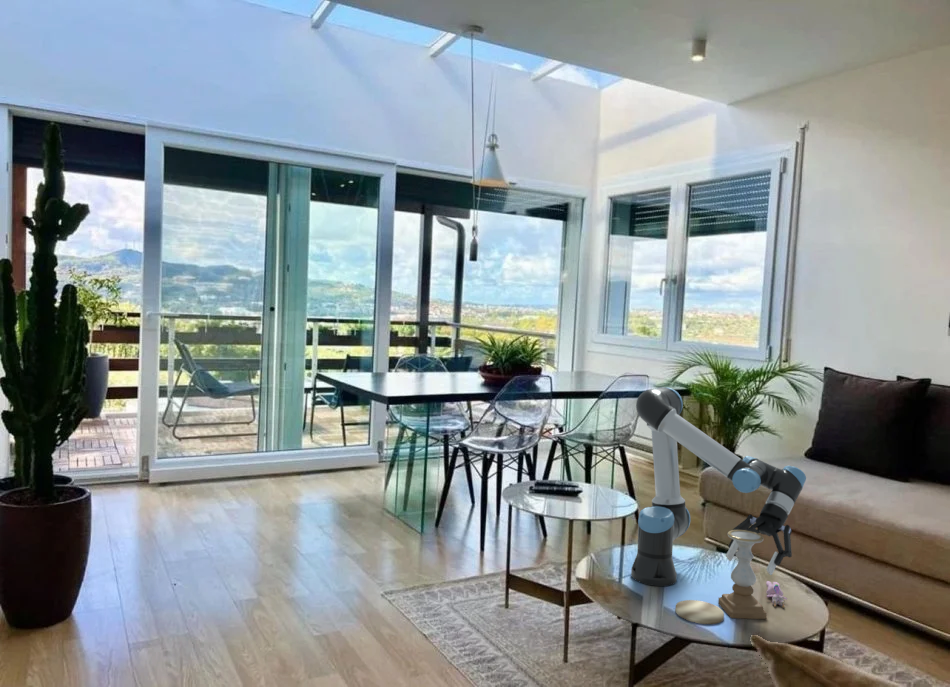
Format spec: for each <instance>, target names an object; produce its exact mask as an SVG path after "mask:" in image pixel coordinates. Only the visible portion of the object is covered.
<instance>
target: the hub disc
mask: <svg viewBox="0 0 950 687" xmlns="http://www.w3.org/2000/svg"><path fill="white" fill-rule="evenodd" d="M675 613H676V615H677V616H679V617H680V618H682V619H683V618H684V620H685V619H686V621H688V622H691V623H694V622H695V623H696V624H698V625H699V624H700V625H701V624H702V625H716V624H720V623H722V622H723V621H724V619H725V611H724V610H723V609H722V608H721V607H719V606H717V605H715V604H712V603H710V602H707V601H702V600H697V599H696V600H695V599H686V600H681V601H678V602H677V603H676V604H675Z"/></svg>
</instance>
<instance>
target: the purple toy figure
mask: <svg viewBox="0 0 950 687" xmlns="http://www.w3.org/2000/svg"><path fill="white" fill-rule="evenodd" d="M765 582H766V583H765V584H766V587H767V590H766V591H765V592H766V596H765V597H766V598H771V604H773V607H775V608H776V607H777V605H779V607H781V608H783V609H785V608H786V607H785V601H784V600H786V601H787V600H788V598H787V597H785V596H784V593H783V591H782V589H781V584H780V583H779V582H777V581H772V582H771V581H769V580H767V581H765Z"/></svg>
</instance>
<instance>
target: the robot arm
mask: <svg viewBox="0 0 950 687" xmlns="http://www.w3.org/2000/svg"><path fill="white" fill-rule="evenodd" d="M683 405H684V403H683V397H682V396H681V394H679V392H678V391H677V390H675V389H674V388H671V387H667V386H666V387H664V386H663V387H662V386H661V387H660V386H659V387H655V388H651V389H647V390H644V391H643V392H642V393H640V394H639V396H638V397H637V400H636V402H635V408H636V413H637V415H638V416H639V418H640V419H641V420H642V421H644V422H645V423H646V426H647V427H648V428H649V429H650V430H651V444H652V458H653V460H652V461H653V471H654V472H653V474H654V475H653V476H654V489H655V496H654V497H653V498H652V499H651V506H647V507H644V508H643V509H641V510H640V511H639V514H638V520H637V523H638V524H637V525H638V526H637V527H638V528H637V550H636V551H637V552H636V556H635V558H634V560H633V564H632V566H631V569H630V570H631V572H630V575H632V576H631V578H632V577H633V578H634V579H633V578H632V579H633V580H635V579H636V580H637V582H638V581H640V582H639V583H641V582H642V583H641V584H644V583H645V585H648V586H649V585H650V586H654V587H667V586H672V585H675V583H677V575H678V574H677V571H676V570H677V569H676V567H675V563H674V560H673V546H674V544H673V543H674V541H675V540H676V539H678V538H679V537H681V536H683V535H684V534H685V533H686V532H687V530H688V529H689V528H690V524H691V514H690V511H689V510H688V508H687V507H686V499H685V498H683V496H682V495H681V486H680V471H679V470H680V468H679V457H678V456H679V455H678V443H679V444H680V445H681V446H683V447H684V448H686V450H688V451H689V452H691V453H693V454H694V455H695V456H696V457H698V458H699V459H701V460H702V461H704V462H705V463H707V464H708V465H709V466H710V467H712V468H714V469H715V470H716V471H717V472H719V473H720V474H721V475H723V476H724V477H726V478H727V479H729V480H730V481H731V482H732V485H733V487H734V488H735V489H736V490H737V491H738V492H740V493H744V494H748V493H752V492H755V491H756V490H758V489H759V488H760V486H761V487H764V488H766V489H768V490H770V491H771V492H770V494H769V495H768V496H767V498H766V501H765V504H763V507H762V508H761V510H760V513H759V516H758V517H755V516H753V515H752V514H749V515H748V516H747V517H746V518H745V519H744V520H743V521H741V522H740V523H739V524H738V525H736V526H735V527H734V528H733V529H732V530H747V531H752V532H755V533H758V534H760V535H766V536H767V537H772V538H773V541H774V543H775V547H776V549H777V551H774V553H773V555H772V557H771V559H770V561H769V563H768V565H767V567H766V569H765V570H766V572H767V573H768V575H770V576H772V575H773V573H774V571H775V569H776V567H777V566H780V565H781V564H782V561H783V559H784V558H785V557H788V558H791V557H792V556H793V555H792V554H793V553H792V542H791V541H792V539H791V535H792V532H793V531H792V528H791V527H790V525H789V524H786V522H787V520H788V518H789V515H790V514H791V512H792V509H793V507H794V506H795V504H796V501H797V499H798V498H799V496H800V494H801V492H802V490H803V487H804V486H805V483H806V481H807V477H806V474H805V472H804V471H803V470H801V469H800V468H798V467H796V466H792V465H785V466H784V467H783V468H782V469H781V468H779V467H776V466H774V465H771V464H769V463H767V462H765V461H762V460H760V459H758V458H756V457H754V456H750V455H746V456H744V457H743V459H742V458H740V457H739V456H737V455H736V454H734V452H732V451H730V450H729V449H728V448H726V447H725V446H723V445H722V444H721V443H719V442H718V441H717V440H715V439H714V438H712V437H711V436H710V435H708V434H706V433H705V432H704V431H702V430H701V429H699V428H698V427H696V426H695V425H694V424H692V423H691V422H689V421H688V420H686V419H685V418H684V417H682V416H681V415H680V414H681V413H682V410H683ZM785 524H786V525H785ZM780 532H782V533H783V546H782V542H781V540H780V537H779V534H778V533H780ZM783 548H784V549H783ZM738 549H739V546H738V544H737V542H736V540H733V539H731V540H730V542H729V544H728V551H727V552H726V554H725V557H726V559H727V560H728V561H730V562H732V561H733V558H734V556H735V555H736V552H737V551H738ZM636 580H635V581H636Z"/></svg>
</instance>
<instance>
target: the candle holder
mask: <svg viewBox="0 0 950 687" xmlns="http://www.w3.org/2000/svg"><path fill="white" fill-rule="evenodd" d="M727 536H728V538H730V539H731V540H732V539H733V540H736V542H737V544H738V546H739V547H738V549H737V551H736V553H735V556H736V558H737V564H736V565H735V567H734V568H733V570H731V572H730V579H731V580H732V582H733V585H732V592H731V593H722V594H721V597H718V600H717V601H718V602H717V604H718V605H719V606H720V608H721V610H722V611H723V612H724V613H726V615H728V617H729V618H731V619H738V620H740V619H741V620H742V619H745V620H746V619H747V620H767V617H768V616H767V615H768V614H767V613H768V612H767V611H766V610H765V609H764V606H763V604H761V603H760V602H759V601H758V600H757V599H756V598H755V596H753V594H754V587H753V585H755V584H756V582H757V577H756V574H755V572H754V570H753V568H752V565H751V562H752V560H753V559H754V554H753V553H752V547H753V546H754V545H755V544H759V543H762V542H763V541H764V537H763V534H761V533H759V534H758V533H755V532H752V531H747V530H733V529H731V530H729V531H728V532H727Z"/></svg>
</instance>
